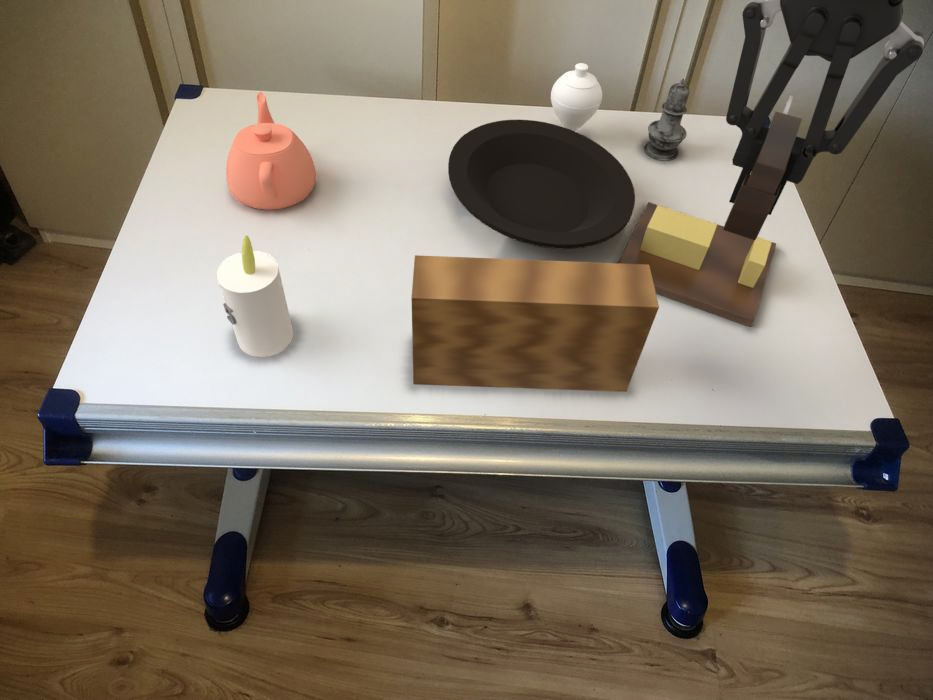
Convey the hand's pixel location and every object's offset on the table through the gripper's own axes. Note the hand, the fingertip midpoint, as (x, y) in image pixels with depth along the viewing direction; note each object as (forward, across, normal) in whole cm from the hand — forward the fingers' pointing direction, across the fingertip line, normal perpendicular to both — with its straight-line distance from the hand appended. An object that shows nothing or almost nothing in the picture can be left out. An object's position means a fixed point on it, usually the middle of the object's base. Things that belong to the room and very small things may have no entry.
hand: (752, 200), depth 64 cm
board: (+22, -3, +16) cm, 27 cm away
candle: (+23, -44, -22) cm, 54 cm away
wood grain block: (+22, -16, -12) cm, 30 cm away
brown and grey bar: (+1, 0, +7) cm, 7 cm away
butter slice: (+21, +4, +16) cm, 27 cm away
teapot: (+22, -61, +2) cm, 65 cm away
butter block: (+21, -6, +16) cm, 27 cm away
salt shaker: (+22, -14, +39) cm, 47 cm away
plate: (+22, -26, +16) cm, 37 cm away
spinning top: (+22, -28, +34) cm, 49 cm away
